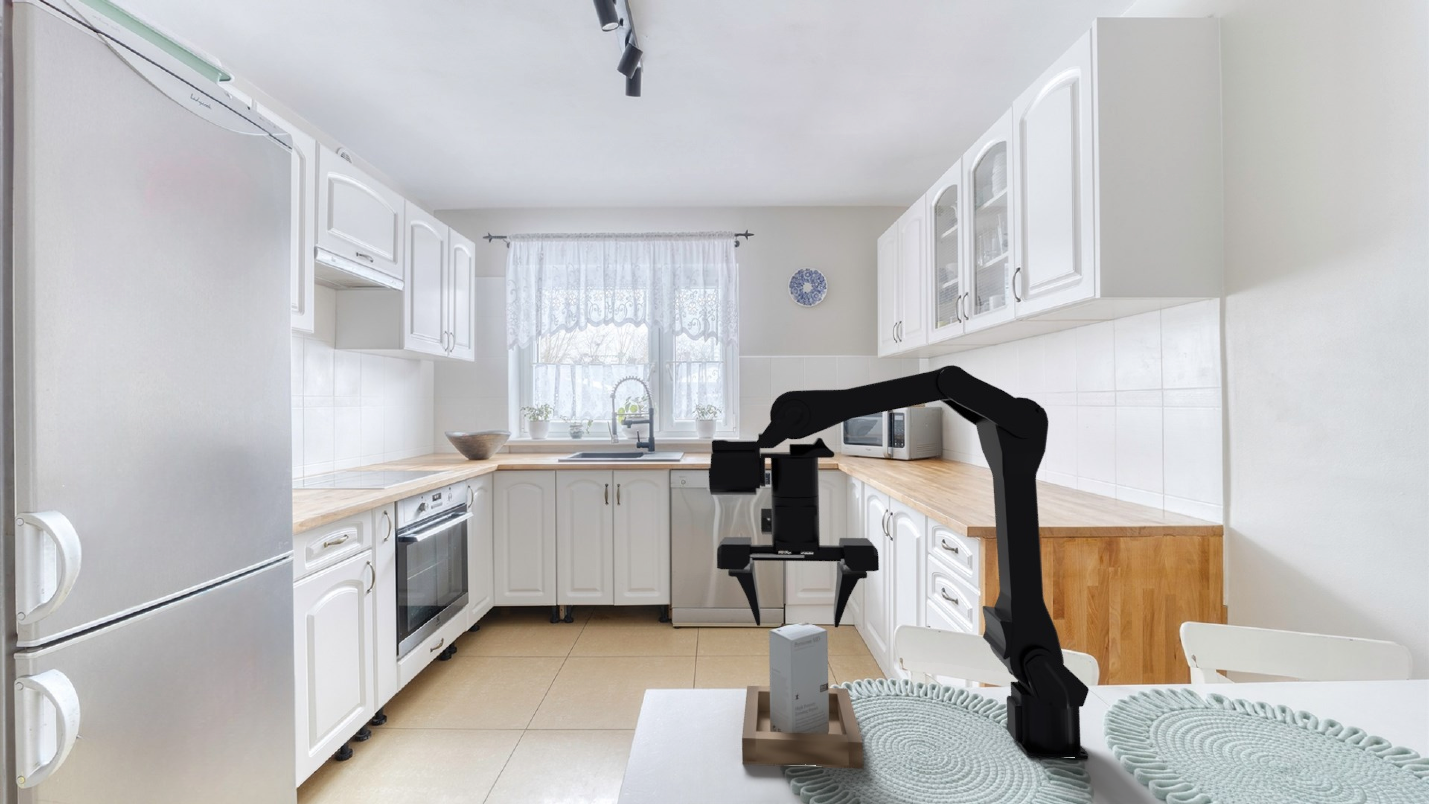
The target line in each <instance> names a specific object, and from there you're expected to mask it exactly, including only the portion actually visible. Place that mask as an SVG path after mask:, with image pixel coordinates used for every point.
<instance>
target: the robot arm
mask: <svg viewBox="0 0 1429 804" xmlns="http://www.w3.org/2000/svg"><path fill="white" fill-rule="evenodd" d="M937 401H940V402H942V403H943V404H945V405H947V406H948V407H949V408H950V409H951V410H953V411H954V412H955V413H957V415H959V416H960V417H961V418H962V419H965V420H966V421H968V422H969V423H971V424H972V425H974V426H975V428H976V431H977V434H978V439H979V443H980V447H981V448H980V449H981V450H982V453H983V456H984V458H985V460H986V463H987V464H988V466H989V469H990V471H991V475H992V486H993V502H994V517H995V519H994V521H995V531H996V532H995V534H996V536H995V537H996V550H997V553H996V554H997V568H998V582H999V583H998V585H999V593H998V597H997V599H996V601H995V604H994V607H993V606H990V605H989V606H988V605H982V613H983V618H984V622H985V623H984V624H985V628H984V632H983V635H982V637H983V639H984V640H985V641H986V643H988V644H989V647H990V650H991V651H992V653H993V654H994V656H995V657H996V658H997V659H998V660H999V661H1000V662H1001V663H1002V664H1003V666H1005V667H1006V669H1007V671H1008V673H1009V674H1010V675H1012V676H1013V678H1015V679H1016V681H1011V682H1010V695H1007V696H1006V722H1007V723H1006V727H1005V728H1006V730H1007V732H1008V733H1009V735H1010V736H1011V737H1012V738H1013V739H1014V741H1015V742H1016V743H1017V744H1018V746H1019V748H1021V750H1022V751H1023V752H1024V753H1025V755H1026V756H1027V757H1030V758H1046V759H1048V758H1049V759H1062V758H1061V757H1075V758H1076V759H1077V760H1088V759H1089V752H1087V751H1086V749H1085V748H1084V747H1083V746H1082V745H1081V744H1082V743H1081V742H1082V741H1081V717H1080V716H1081V715H1080V707H1084V705H1085V703H1086V700H1087V696H1088V694H1089V692H1090V690H1089V687H1088V686H1087V685H1086V684H1085V683H1084V682H1083V681H1082V680H1081V679H1080V678H1078V677H1077V676H1076V675H1075V674H1074V673H1073V672H1072V671H1071V670H1070V669H1069V668H1068V667H1067V666H1066V665H1064V664H1065V660H1064V655H1063V650H1062V647H1061V642H1060V639H1059V634H1058V631H1057V628H1056V625H1055V624H1054V622H1053V619H1052V617H1051V615H1050V613H1049V610H1048V607H1047V606H1046V603H1045V599H1044V585H1043V569H1042V554H1041V536H1040V535H1041V534H1040V525H1039V524H1040V522H1039V521H1040V519H1039V505H1038V491H1037V490H1038V489H1037V488H1038V487H1037V476H1038V475H1037V474H1038V471H1039V468H1040V466H1041V464H1042V460H1043V458H1044V455H1045V453H1046V449H1047V442H1048V440H1047V439H1048V433H1049V432H1048V431H1049V417H1048V414H1047V412H1046V410H1045V408H1044V407H1042V406H1041V405H1040V404H1038V403H1037V402H1036V400H1035V401H1034V400H1033V399H1031V398H1028V397H1022V396H1021V397H1020V396H1019V397H1015V396H1013V395H1011V394H1010V393H1008V392H1006V391H1005V390H1004V389H1001V388H999V387H998V386H995V385H992V384H990V383H988V382H986V381H983V380H981V379H980V378H977V377H976V376H973V374H971V373H969V372H967V371H965V370H964V369H963V368H961V367H960V366H958V365H954V364H953V365H945V366H941V367H939V368H935V369H934V370H931V371H925V372H921V373H917V374H912V375H908V376H903V377H899V378H893V379H888V380H885V381H878V382H874V383H870V384H864V385H859V386H855V387H850V388H846V389H845V388H844V389H809V390H807V389H806V390H805V389H804V390H790V391H786V392H784V393H781V395H779V396H778V397H777V398H775V400H774V401H773V403H772V404H771V407H770V412H769V417H770V418H769V419H770V422H769V424H768V425H767V427H766V428H765V429H764V430H763V432H760V433H758V436H757V437H758V438H757V440H727V439H713V440H712V441H711V453H710V466H709V467H708V485H709V493H710V495H711V496H757V492H758V489H761V487H764V488H765V487H766V482H767V481H766V459H770V494H771V498H770V499H771V504H770V505H771V508H761V509H760V526H761V527H760V531H761V534H762V535H771V544H753V543H752V542H753V541H752V537H751V536H750V537H749V536H746V537H745V536H743V537H742V536H733V537H732V536H725V537H724V538H722V539H721V540H720V542H719V543H718V546H717V547H716V548H717V549H716V568H717V569H718V570H728V572H727V573H728V574H727V575H728V577H731V578H732V577H735V578H736V579H737V581H738V583H739V585H740V587H741V589H742V591H743V592H744V595H745V597H746V598H747V602H748V605H749V607H750V610H751V612H752V615H753V617H754V622H755V624H756V626H757V627H759V626H761V606H760V599H759V591H758V583H757V577H756V567H755V566H756V565H755V561H756V562H757V561H761V562H762V561H765V562H766V561H767V562H769V561H771V562H772V561H773V562H836V582H835V592H834V603H833V626H834V628H838V627H839V625H840V623H841V620H842V617H843V615H844V612H845V610H846V607H847V604H848V601H849V599H850V596H851V595H852V593H853V592H854V589H855V587H856V585H857V584H858V582H859V580H860V579H863V580H864V579H867V578H868V572H877V571H879V570H880V568H879V566H880V563H879V561H880V560H879V558H880V557H879V551H878V550H879V549H878V548H877V547H876V546H875V545H874V544H873V542H871V541H870V539H869V538H867V537H840V538H839V541H838V545H837V544H835V545H826V544H825V545H821V543H820V540H821V539H820V538H821V537H820V533H821V532H820V492H819V491H820V488H819V484H820V483H819V481H820V479H819V459H829V458H830V459H831V458H832V459H833V458H834V457H835V455H836V454H835V451H833V450H832V449H830V448H829V447H828V446H827V445H826V444H825V442H824V440H823V438H821V437H817V438H816V439H815V441H814V442H813V443H789V445H788V446H789V447H788V448H789V449H788V450H789V451H784V452H783V451H781V452H779V451H777V452H761V449H774V448H776V447H777V446H779V445H780V444H781V443H784V442H785V441H787V439H789V440H801V439H804V438H808V437H809V436H813V435H815V434H817V433H820V432H822V431H825V430H827V429H829V428H832V427H834V426H837V425H839V424H841V423H844V422H846V421H849V420H852V419H855V418H860V417H865V416H870V415H875V414H881V413H884V412H889V411H895V410H899V409H904V408H909V407H914V406H918V405H919V406H920V405H922V404H923V405H925V404H929V403H934V402H937ZM781 552H782V553H781ZM785 552H786V553H785ZM1076 759H1075V760H1076Z"/></svg>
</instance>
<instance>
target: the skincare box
mask: <svg viewBox="0 0 1429 804" xmlns="http://www.w3.org/2000/svg"><path fill="white" fill-rule="evenodd" d="M768 637H769V638H768V639H769V641H768V644H769V649H768V650H769V654H768V655H769V659H768V660H769V686H770V731H771V732H786V733H814V734H827V733H828V732H829V690H828V688H829V656H828V655H829V650H828V649H829V648H828V647H829V643H828V642H829V641H828V630H827V629H825V628H822V627H820V626H817V625H814V624H812V623H809V622H806V621H805V622H800V623H795V624H788V625H784V626H781V627H777V628H774V629H770V630H769V632H768Z"/></svg>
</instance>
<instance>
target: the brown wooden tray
mask: <svg viewBox="0 0 1429 804" xmlns="http://www.w3.org/2000/svg"><path fill="white" fill-rule="evenodd" d="M828 690H829V732H828V733H827V734H814V733H786V732H771V731H770V685H768V686H767V685H746V692H745V693H746V694H745V703H744V713H743V715H744V716H743V723H742V724H743V726H742V734H741V735H742V736H741V750H742V752H741V760H742V762H741V763H742V765H757V766H780V767H781V766H783V767H785V766H784V765H805V764H806V765H816V766H822V767H821V768H826V769H827V768H828V769H830V768H831V769H855V770H856V769H857V770H864V754H863V753H864V751H863V750H864V748H863V747H864V746H863V743H864V742H863V740H862V736H861V732H860V728H859V725H858V722H857V721H858V720H857V717H856V714H855V709H854V706H853V703H852V700H851V697H850V696H851V695H850V691H849V688H841V687H835V688H834V687H828Z"/></svg>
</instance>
